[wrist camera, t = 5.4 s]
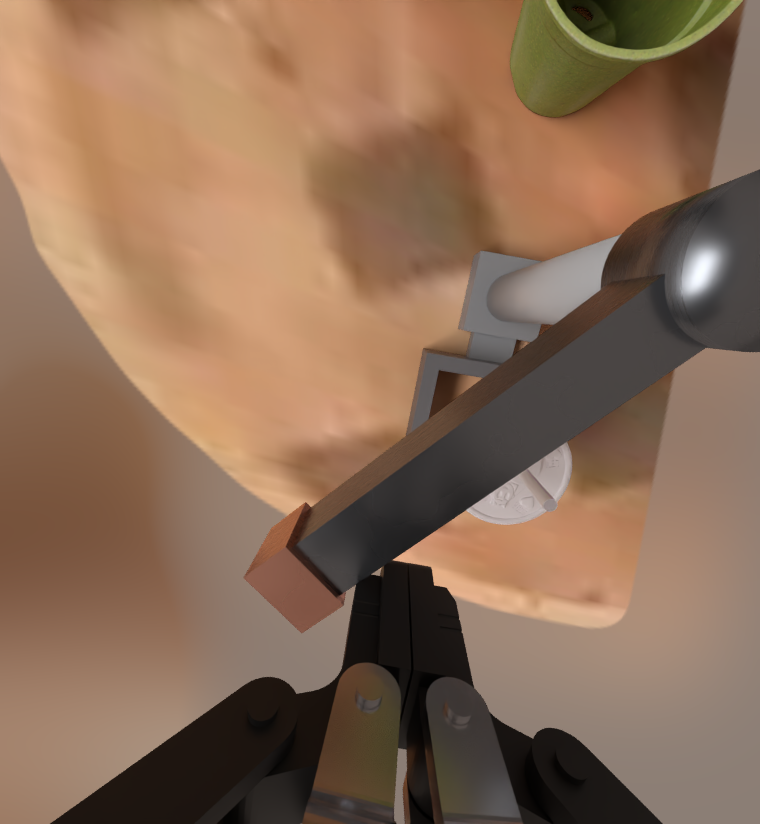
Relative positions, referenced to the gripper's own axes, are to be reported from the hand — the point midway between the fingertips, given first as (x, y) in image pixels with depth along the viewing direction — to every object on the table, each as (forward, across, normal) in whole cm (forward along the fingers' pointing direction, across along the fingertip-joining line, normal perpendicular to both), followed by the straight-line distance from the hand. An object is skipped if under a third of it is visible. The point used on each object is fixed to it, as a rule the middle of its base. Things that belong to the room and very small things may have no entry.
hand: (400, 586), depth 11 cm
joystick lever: (+2, -2, -6) cm, 6 cm away
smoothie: (+18, -5, -2) cm, 19 cm away
